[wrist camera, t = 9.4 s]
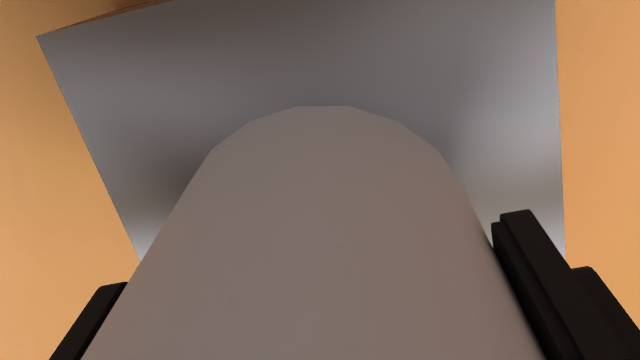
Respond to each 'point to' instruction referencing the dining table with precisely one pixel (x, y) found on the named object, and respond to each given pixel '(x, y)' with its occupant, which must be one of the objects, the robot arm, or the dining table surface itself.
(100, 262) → the dining table surface
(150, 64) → the riser
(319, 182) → the can
